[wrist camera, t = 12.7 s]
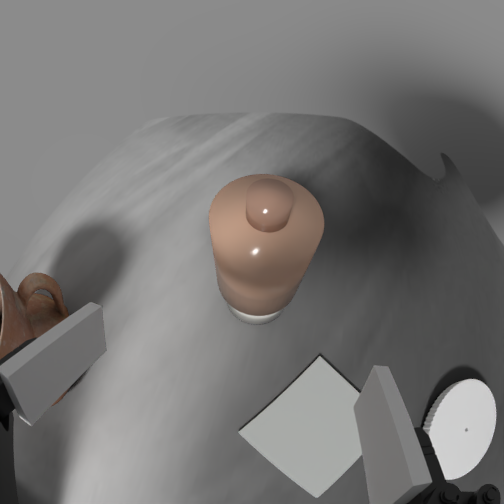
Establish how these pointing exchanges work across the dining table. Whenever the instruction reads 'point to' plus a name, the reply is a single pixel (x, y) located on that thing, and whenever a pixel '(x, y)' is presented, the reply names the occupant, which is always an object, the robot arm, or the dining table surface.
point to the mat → (310, 429)
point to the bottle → (263, 241)
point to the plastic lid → (461, 426)
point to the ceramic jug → (29, 312)
